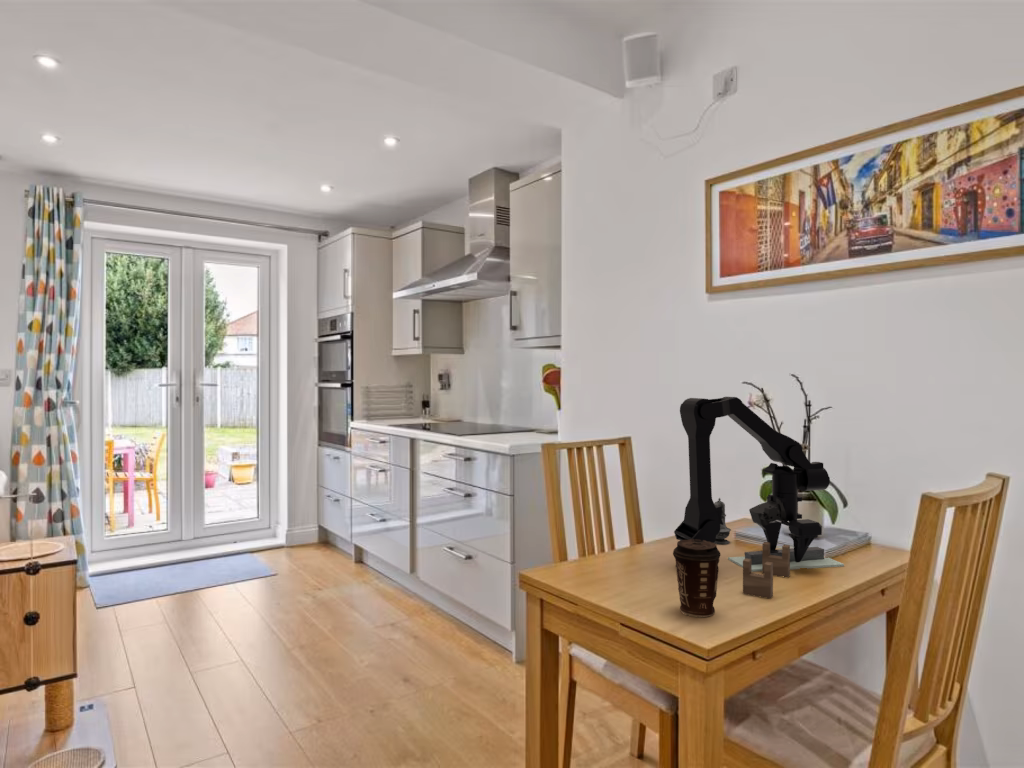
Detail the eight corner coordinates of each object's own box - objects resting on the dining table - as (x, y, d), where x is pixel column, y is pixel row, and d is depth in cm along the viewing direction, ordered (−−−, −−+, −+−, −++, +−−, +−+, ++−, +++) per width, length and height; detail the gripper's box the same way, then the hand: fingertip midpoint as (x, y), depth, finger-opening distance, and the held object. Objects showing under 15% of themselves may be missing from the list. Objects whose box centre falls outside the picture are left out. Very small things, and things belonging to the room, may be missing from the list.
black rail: (750, 565, 147) (750, 554, 147) (744, 562, 149) (744, 552, 149) (824, 559, 151) (824, 549, 151) (817, 556, 154) (817, 546, 154)
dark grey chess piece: (727, 539, 172) (727, 496, 172) (733, 545, 166) (733, 500, 166) (706, 539, 173) (706, 495, 172) (710, 544, 167) (710, 499, 167)
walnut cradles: (770, 598, 126) (770, 565, 126) (742, 593, 129) (742, 560, 129) (789, 575, 140) (789, 545, 140) (764, 571, 144) (764, 541, 143)
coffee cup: (698, 600, 125) (698, 535, 125) (730, 614, 118) (730, 545, 117) (664, 608, 121) (664, 541, 121) (696, 623, 113) (696, 551, 113)
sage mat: (750, 571, 143) (750, 569, 143) (728, 559, 153) (728, 557, 153) (844, 566, 147) (844, 564, 147) (816, 554, 157) (816, 552, 157)
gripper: (732, 486, 157) (732, 548, 157) (780, 500, 139) (780, 570, 139) (771, 484, 160) (771, 545, 160) (823, 498, 142) (823, 567, 142)
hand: (784, 556), depth 150 cm, fingers open, 9 cm apart
